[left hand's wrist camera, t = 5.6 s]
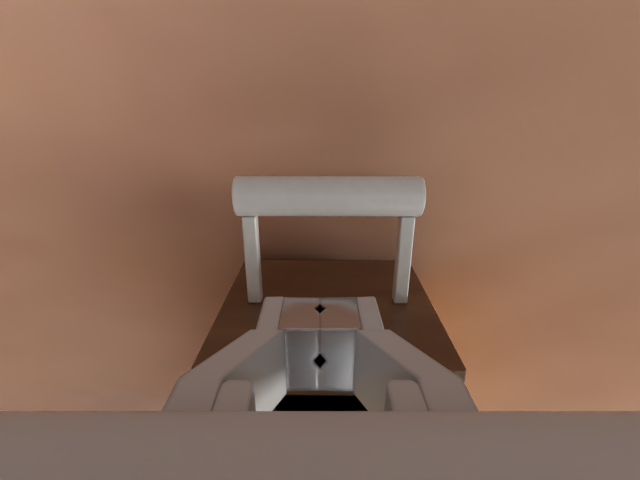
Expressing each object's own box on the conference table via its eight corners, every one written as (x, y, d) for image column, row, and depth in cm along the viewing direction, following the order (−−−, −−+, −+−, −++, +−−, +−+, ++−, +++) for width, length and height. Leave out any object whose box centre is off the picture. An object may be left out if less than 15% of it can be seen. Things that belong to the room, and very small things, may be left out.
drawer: (236, 159, 19) (164, 206, 10) (418, 159, 19) (496, 207, 10) (262, 479, 27) (235, 649, 19) (387, 480, 27) (416, 652, 19)
